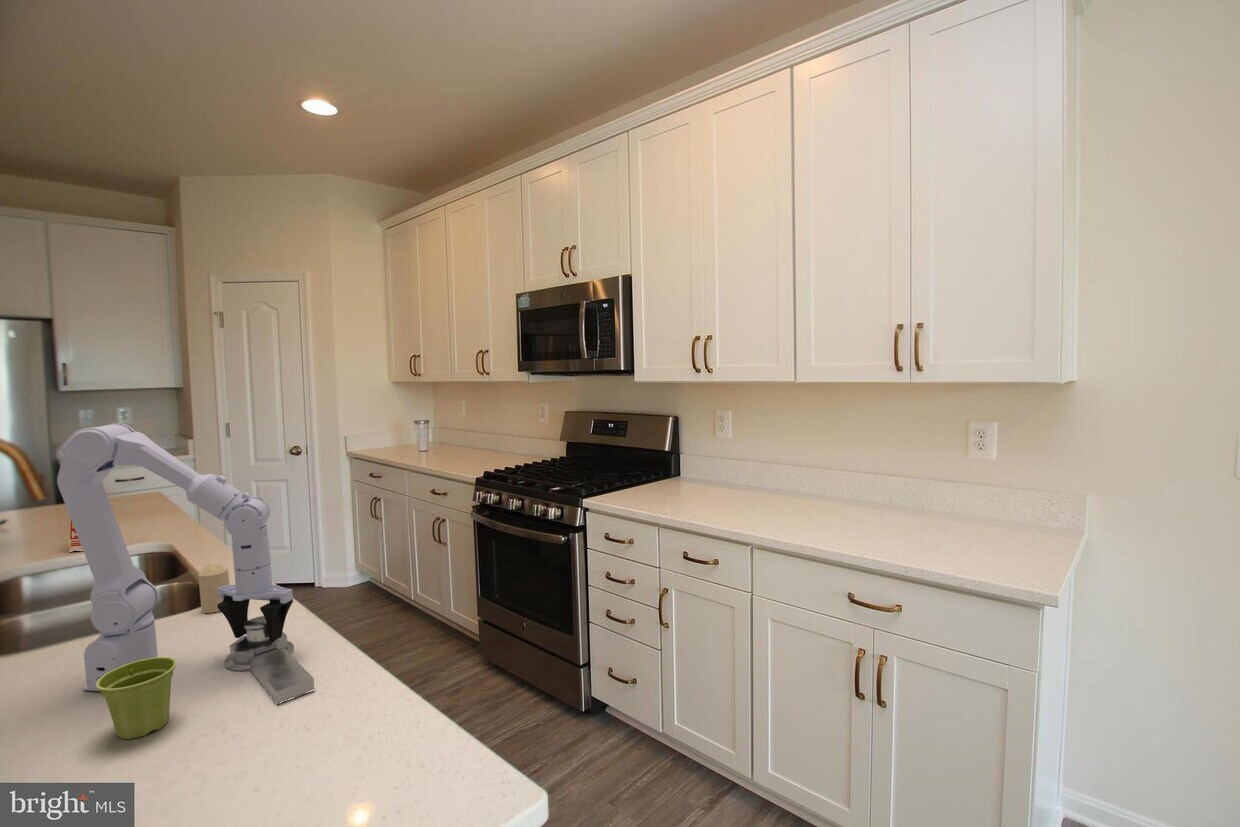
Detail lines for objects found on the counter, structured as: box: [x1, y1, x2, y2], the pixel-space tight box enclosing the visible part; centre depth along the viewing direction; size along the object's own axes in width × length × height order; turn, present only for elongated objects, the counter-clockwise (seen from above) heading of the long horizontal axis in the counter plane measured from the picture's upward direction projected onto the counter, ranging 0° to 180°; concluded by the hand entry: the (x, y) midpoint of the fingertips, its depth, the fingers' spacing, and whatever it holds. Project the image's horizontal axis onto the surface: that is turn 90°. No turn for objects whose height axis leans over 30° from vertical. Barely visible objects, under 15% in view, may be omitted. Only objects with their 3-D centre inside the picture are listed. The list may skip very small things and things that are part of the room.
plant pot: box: [96, 656, 178, 740], centre depth 90 cm, size 9×9×9 cm
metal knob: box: [244, 615, 276, 649], centre depth 112 cm, size 5×5×6 cm
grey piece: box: [223, 630, 315, 704], centre depth 106 cm, size 26×11×3 cm, turn 45°
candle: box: [197, 564, 230, 614], centre depth 134 cm, size 6×6×10 cm
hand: (258, 637), depth 111 cm, fingers open, 7 cm apart
